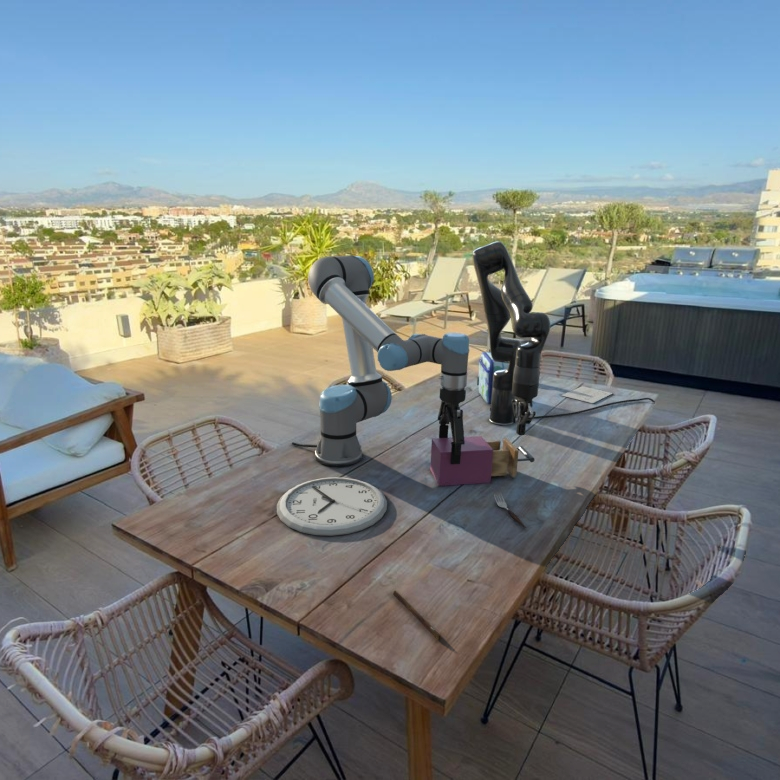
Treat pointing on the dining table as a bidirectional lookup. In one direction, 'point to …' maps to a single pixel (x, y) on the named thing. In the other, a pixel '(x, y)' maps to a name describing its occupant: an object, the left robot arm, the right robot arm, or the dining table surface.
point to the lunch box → (488, 375)
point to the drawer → (506, 458)
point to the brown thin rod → (416, 614)
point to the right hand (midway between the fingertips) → (520, 434)
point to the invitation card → (587, 394)
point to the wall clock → (331, 506)
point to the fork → (504, 505)
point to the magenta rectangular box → (461, 462)
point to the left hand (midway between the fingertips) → (448, 453)
